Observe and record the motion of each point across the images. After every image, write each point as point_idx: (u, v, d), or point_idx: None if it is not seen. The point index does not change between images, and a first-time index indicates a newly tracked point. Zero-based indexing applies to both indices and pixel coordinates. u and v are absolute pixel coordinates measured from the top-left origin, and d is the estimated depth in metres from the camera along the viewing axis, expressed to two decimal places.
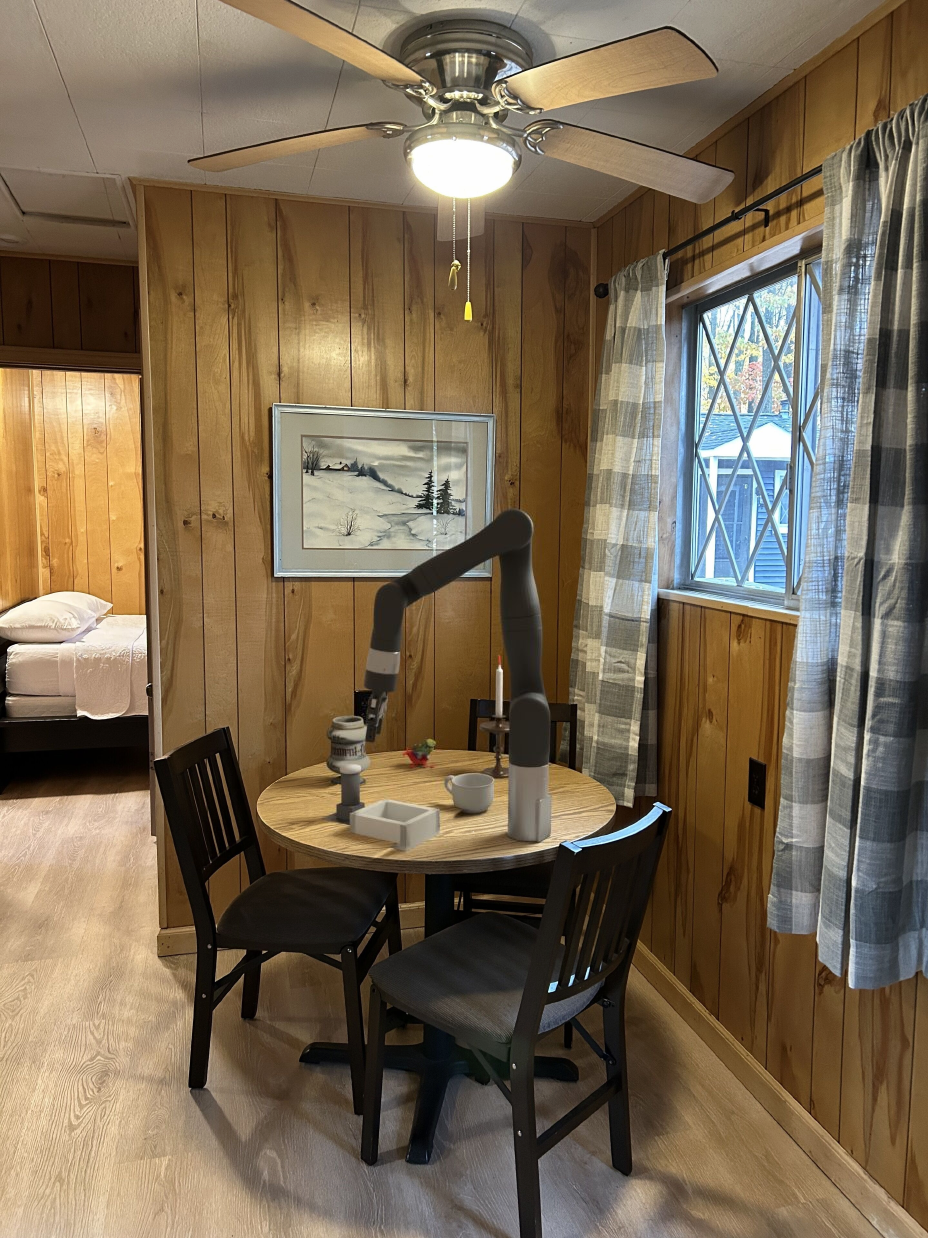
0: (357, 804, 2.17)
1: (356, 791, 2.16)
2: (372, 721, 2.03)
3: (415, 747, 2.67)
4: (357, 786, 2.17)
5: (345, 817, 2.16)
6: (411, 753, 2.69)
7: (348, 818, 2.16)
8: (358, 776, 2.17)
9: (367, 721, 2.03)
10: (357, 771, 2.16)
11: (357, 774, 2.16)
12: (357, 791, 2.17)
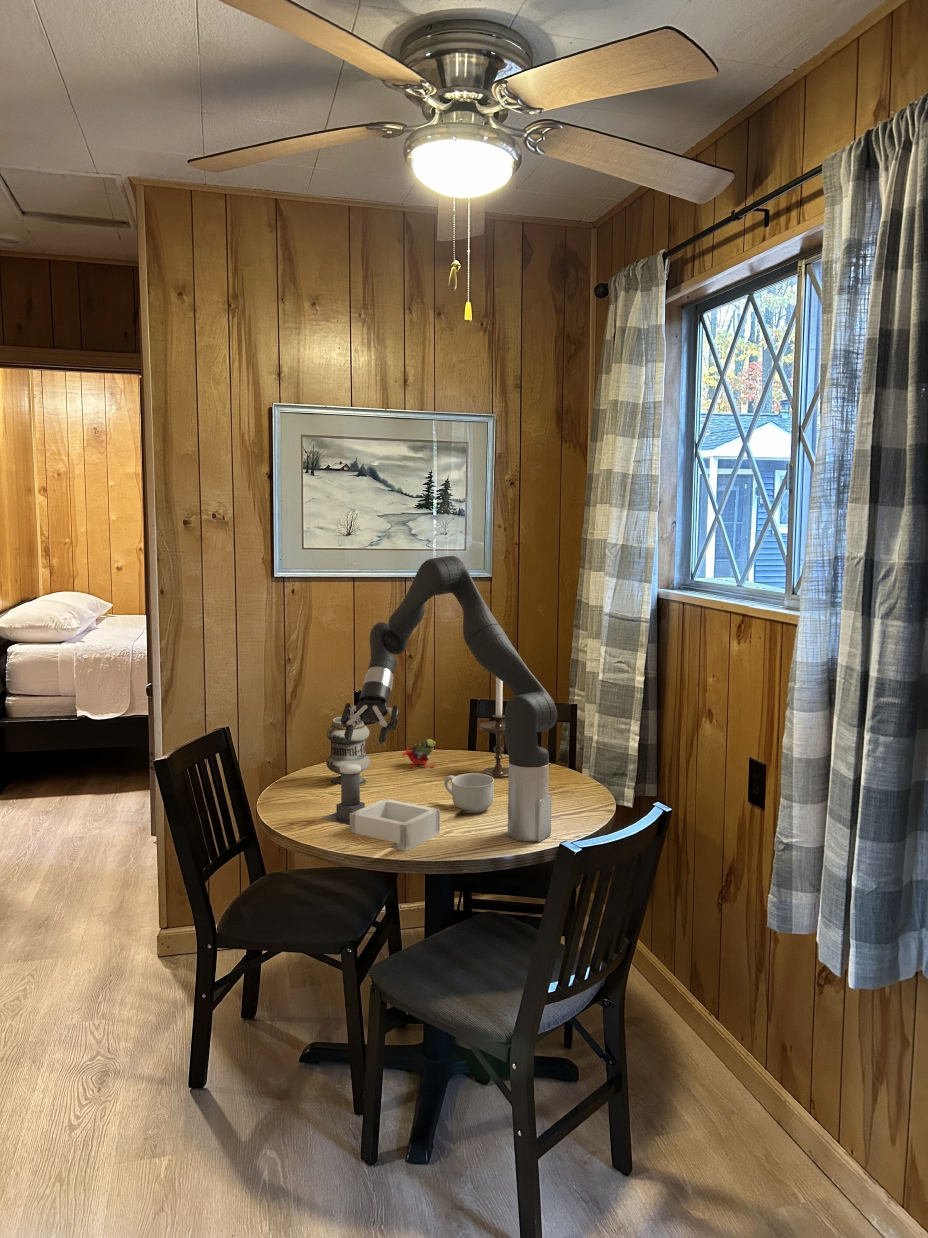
0: (357, 804, 2.17)
1: (356, 791, 2.16)
2: None
3: (415, 747, 2.67)
4: (357, 786, 2.17)
5: (345, 817, 2.16)
6: (411, 753, 2.69)
7: (348, 818, 2.16)
8: (358, 776, 2.17)
9: None
10: (357, 771, 2.16)
11: (357, 774, 2.16)
12: (357, 791, 2.17)
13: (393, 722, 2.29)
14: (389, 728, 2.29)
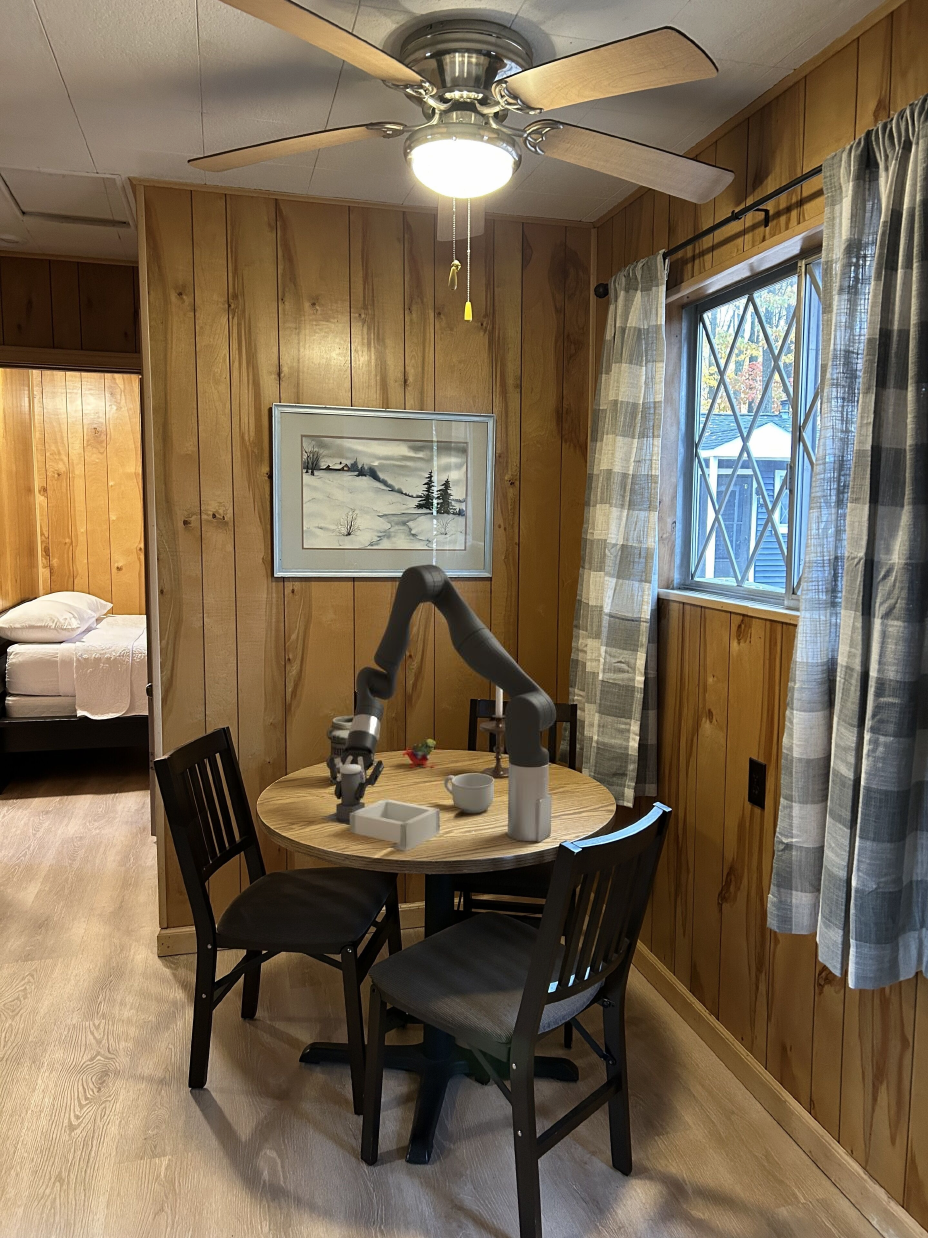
0: (357, 804, 2.17)
1: (356, 791, 2.16)
2: None
3: (415, 747, 2.67)
4: (357, 786, 2.17)
5: (345, 817, 2.16)
6: (411, 753, 2.69)
7: (348, 818, 2.16)
8: (358, 776, 2.17)
9: (332, 780, 2.21)
10: (357, 771, 2.16)
11: (357, 774, 2.16)
12: None
13: (371, 777, 2.17)
14: (367, 784, 2.18)
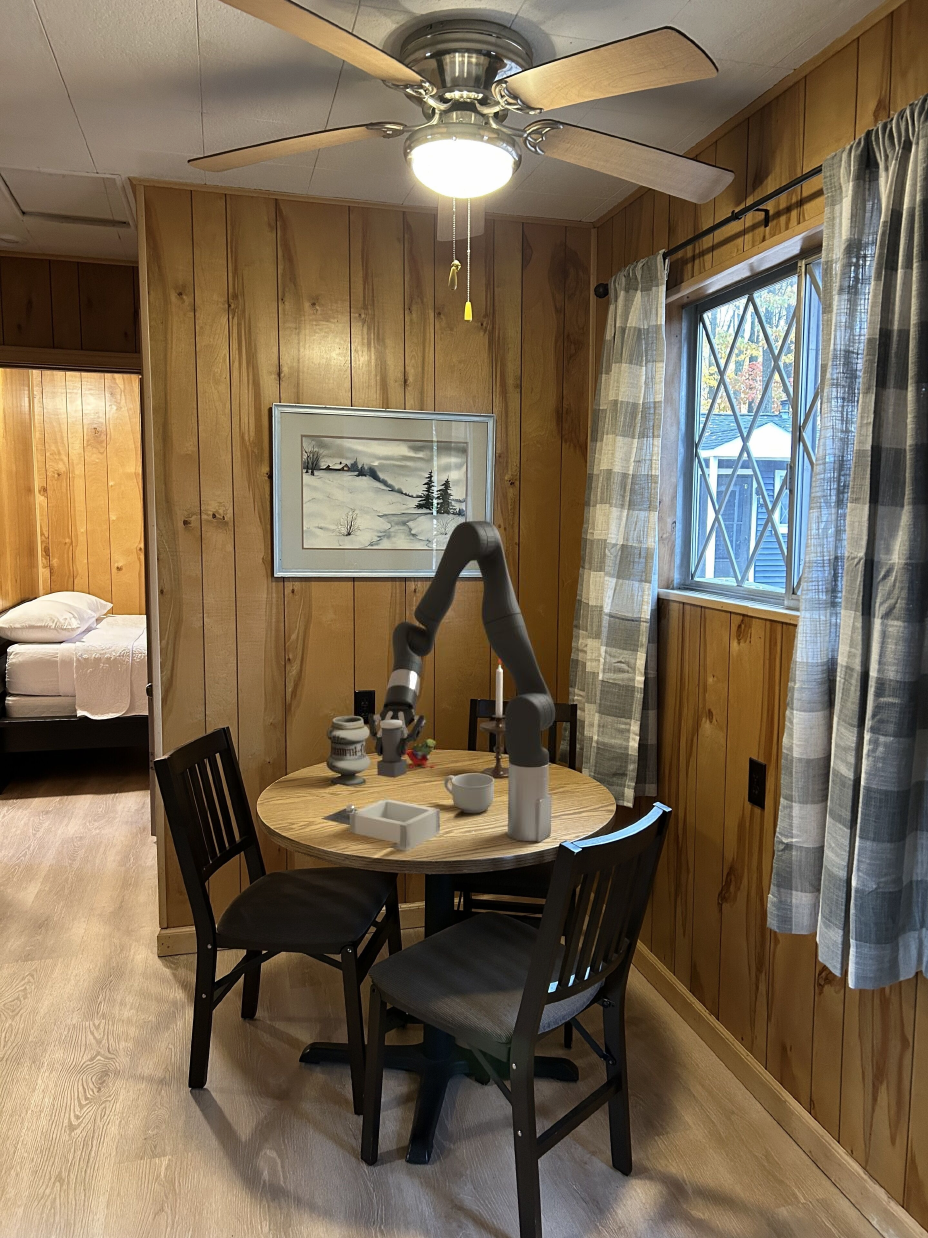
0: (399, 760, 2.07)
1: (397, 747, 2.07)
2: None
3: (415, 747, 2.67)
4: (399, 741, 2.07)
5: (387, 774, 2.07)
6: (411, 753, 2.69)
7: (390, 775, 2.06)
8: (399, 731, 2.07)
9: (372, 737, 2.11)
10: (398, 725, 2.06)
11: (399, 729, 2.07)
12: None
13: (413, 732, 2.08)
14: (409, 739, 2.08)
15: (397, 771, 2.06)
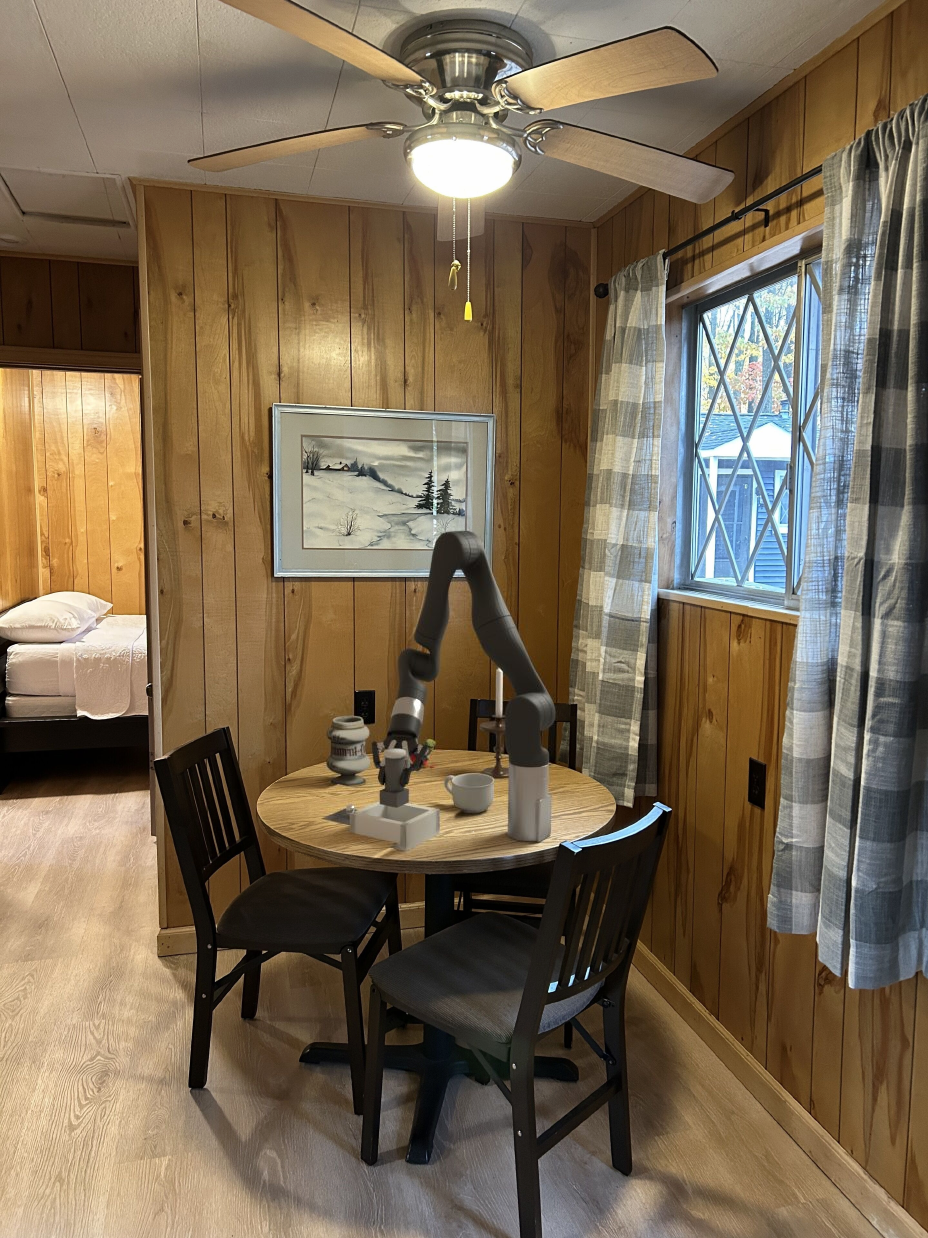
0: (401, 790, 2.07)
1: (400, 777, 2.07)
2: None
3: None
4: (402, 771, 2.07)
5: (389, 804, 2.07)
6: None
7: (392, 805, 2.06)
8: (403, 761, 2.07)
9: None
10: (402, 756, 2.06)
11: (402, 759, 2.07)
12: None
13: (416, 763, 2.08)
14: (412, 769, 2.08)
15: (399, 801, 2.07)
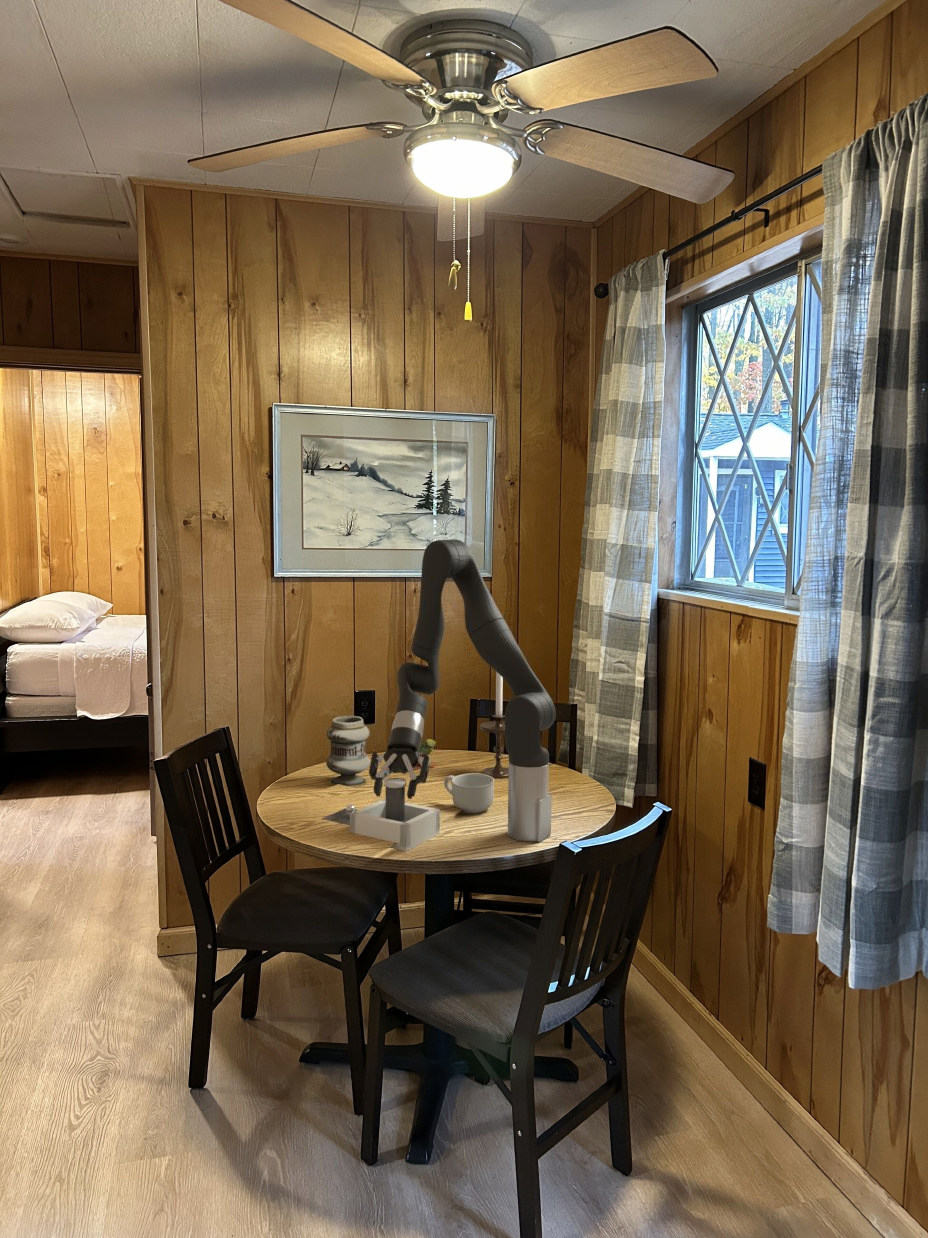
0: (402, 819, 2.08)
1: (401, 806, 2.07)
2: None
3: None
4: (402, 801, 2.08)
5: None
6: None
7: None
8: (403, 790, 2.08)
9: None
10: (402, 785, 2.07)
11: (402, 788, 2.07)
12: (402, 806, 2.08)
13: (423, 774, 2.08)
14: (418, 781, 2.08)
15: None
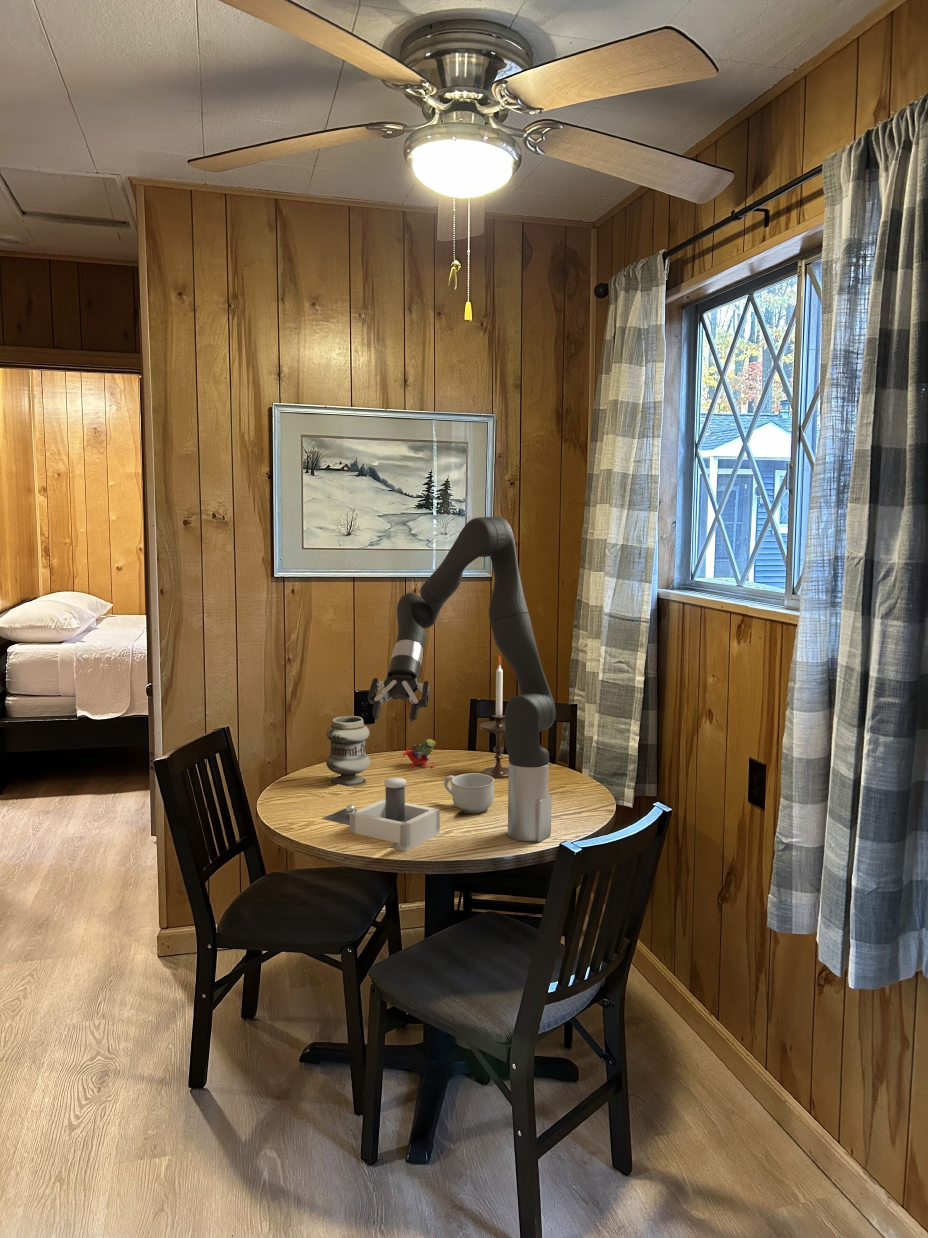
0: (402, 819, 2.08)
1: (401, 806, 2.07)
2: None
3: (415, 747, 2.67)
4: (402, 801, 2.08)
5: None
6: (411, 753, 2.69)
7: None
8: (403, 790, 2.08)
9: None
10: (402, 785, 2.07)
11: (402, 788, 2.07)
12: (402, 806, 2.08)
13: (424, 698, 2.13)
14: (420, 705, 2.14)
15: None
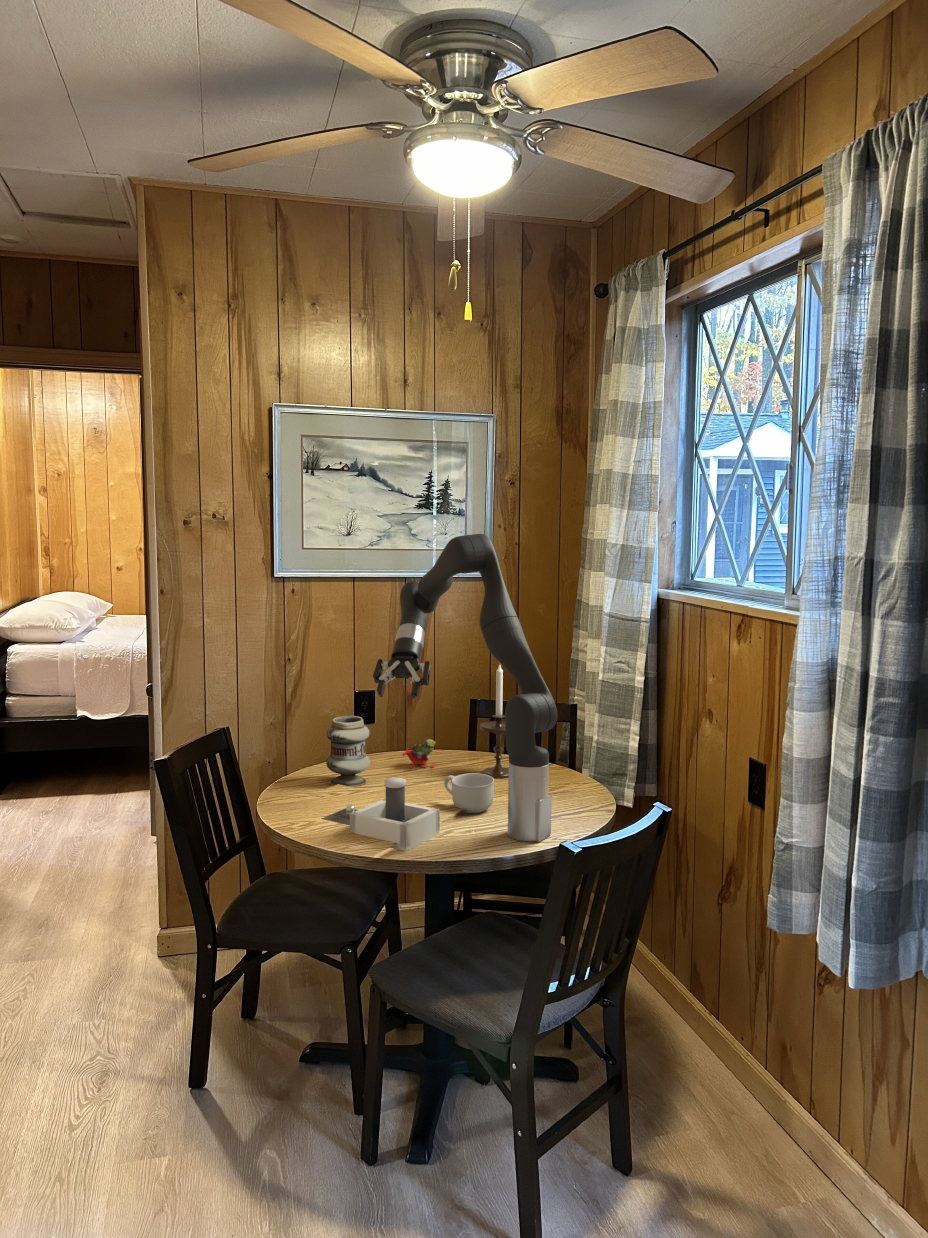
0: (402, 819, 2.08)
1: (401, 806, 2.07)
2: None
3: (415, 747, 2.67)
4: (402, 801, 2.08)
5: None
6: (411, 753, 2.69)
7: None
8: (403, 790, 2.08)
9: None
10: (402, 785, 2.07)
11: (402, 788, 2.07)
12: (402, 806, 2.08)
13: (426, 677, 2.29)
14: (422, 683, 2.29)
15: None
